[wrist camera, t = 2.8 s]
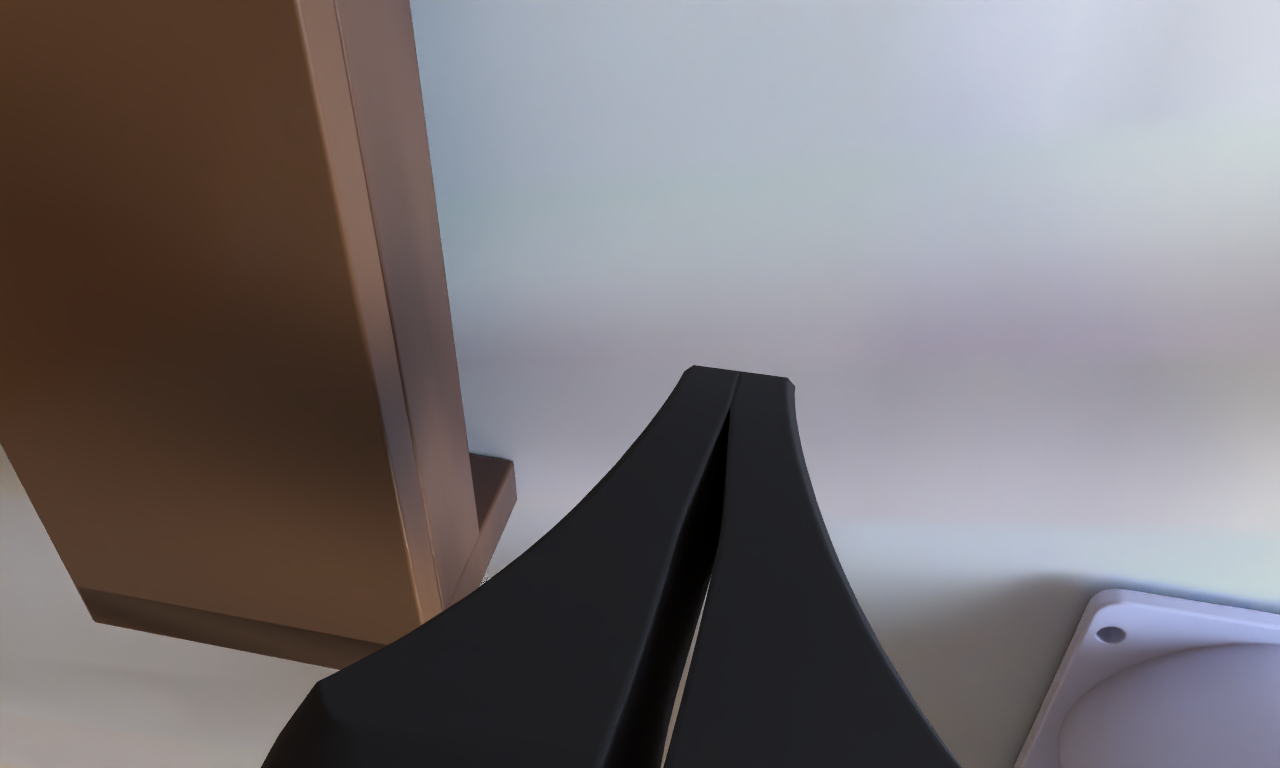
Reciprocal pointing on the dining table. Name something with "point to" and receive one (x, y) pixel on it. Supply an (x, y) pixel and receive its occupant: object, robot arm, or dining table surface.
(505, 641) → the robot arm
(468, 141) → the dining table surface
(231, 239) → the brown flanged block
